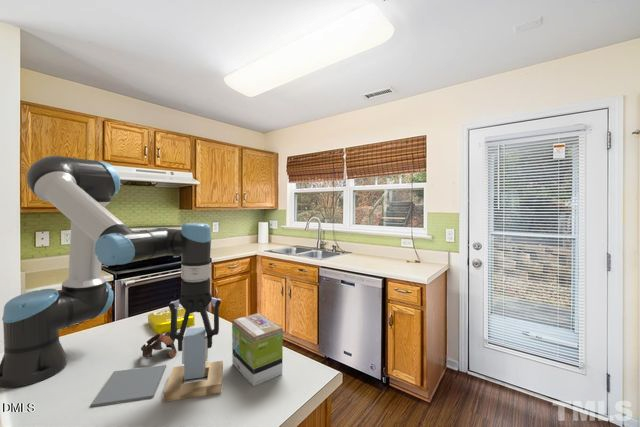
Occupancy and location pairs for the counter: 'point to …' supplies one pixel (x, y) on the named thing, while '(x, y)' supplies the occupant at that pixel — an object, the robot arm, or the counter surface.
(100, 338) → the counter surface
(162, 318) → the element tile
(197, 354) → the part
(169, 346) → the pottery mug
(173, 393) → the holder
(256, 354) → the tea box
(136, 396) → the plate
